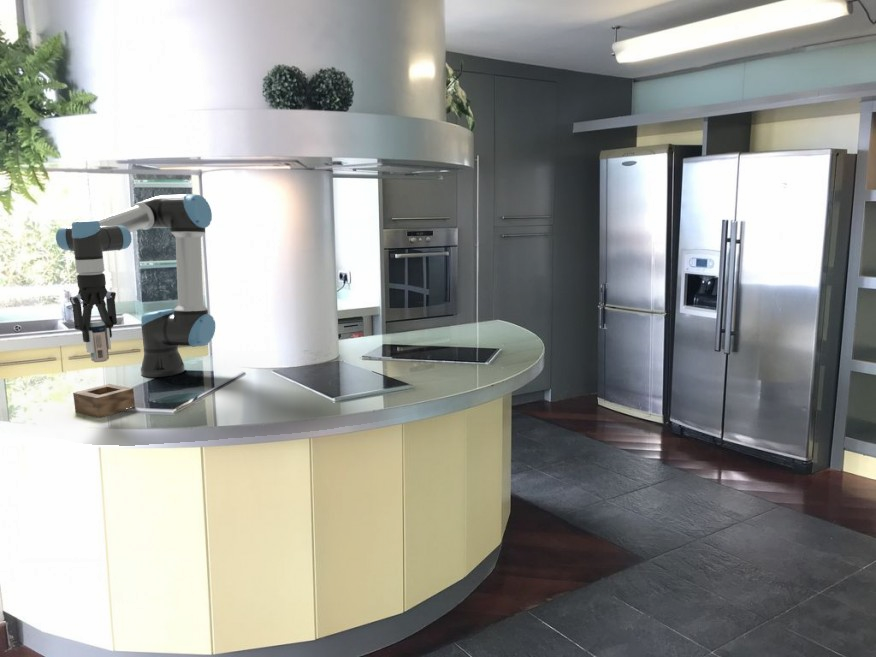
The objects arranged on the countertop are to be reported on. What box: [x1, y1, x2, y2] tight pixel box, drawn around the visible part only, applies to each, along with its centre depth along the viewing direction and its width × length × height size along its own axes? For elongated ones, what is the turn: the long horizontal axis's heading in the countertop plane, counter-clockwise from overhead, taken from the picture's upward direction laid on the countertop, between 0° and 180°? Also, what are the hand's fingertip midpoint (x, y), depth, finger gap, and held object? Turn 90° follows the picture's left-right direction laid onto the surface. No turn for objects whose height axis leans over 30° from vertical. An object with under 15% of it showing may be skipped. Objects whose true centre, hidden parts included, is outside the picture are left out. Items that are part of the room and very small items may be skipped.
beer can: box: [89, 320, 110, 363], centre depth 216 cm, size 5×5×12 cm
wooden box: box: [72, 383, 136, 418], centre depth 219 cm, size 12×12×6 cm
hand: (99, 350), depth 216 cm, fingers closed on beer can, 5 cm apart
